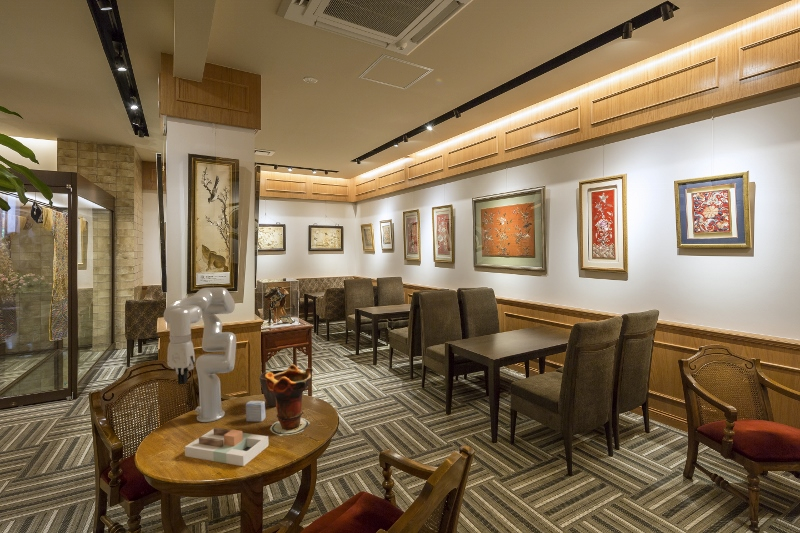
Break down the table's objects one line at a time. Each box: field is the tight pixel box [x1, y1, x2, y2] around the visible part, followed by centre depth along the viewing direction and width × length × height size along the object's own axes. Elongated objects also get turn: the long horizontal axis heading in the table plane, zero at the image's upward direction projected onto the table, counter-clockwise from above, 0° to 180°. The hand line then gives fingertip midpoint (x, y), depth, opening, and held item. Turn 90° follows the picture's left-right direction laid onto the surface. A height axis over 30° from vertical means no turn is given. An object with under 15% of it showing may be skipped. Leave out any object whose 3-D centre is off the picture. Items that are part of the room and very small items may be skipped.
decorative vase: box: [265, 364, 313, 437], centre depth 184 cm, size 21×23×28 cm
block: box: [224, 429, 243, 446], centre depth 162 cm, size 5×5×4 cm
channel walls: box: [198, 427, 232, 447], centre depth 164 cm, size 11×9×2 cm
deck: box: [184, 428, 270, 467], centre depth 163 cm, size 28×16×4 cm, turn 74°
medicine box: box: [245, 400, 267, 422], centre depth 191 cm, size 8×4×9 cm, turn 84°
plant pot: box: [259, 369, 285, 408], centre depth 210 cm, size 15×15×16 cm
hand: (182, 382), depth 161 cm, fingers closed
